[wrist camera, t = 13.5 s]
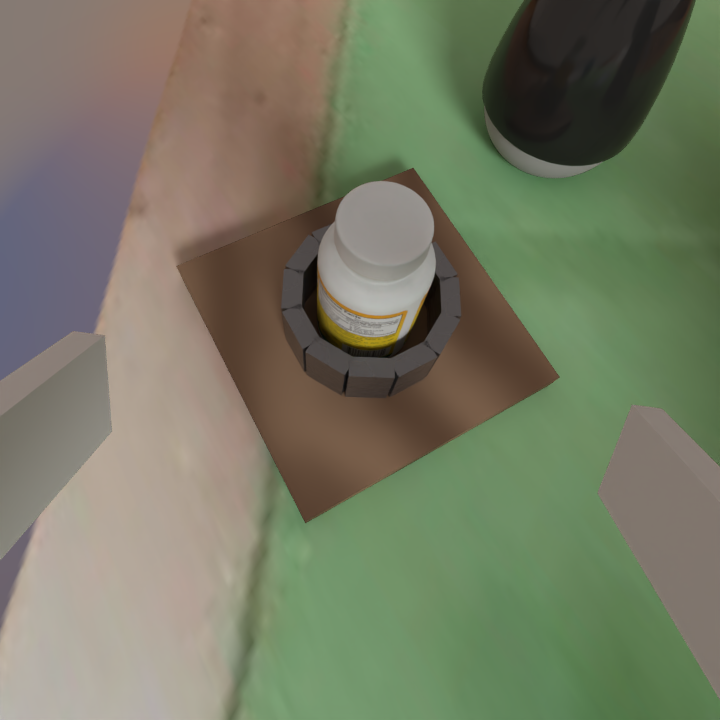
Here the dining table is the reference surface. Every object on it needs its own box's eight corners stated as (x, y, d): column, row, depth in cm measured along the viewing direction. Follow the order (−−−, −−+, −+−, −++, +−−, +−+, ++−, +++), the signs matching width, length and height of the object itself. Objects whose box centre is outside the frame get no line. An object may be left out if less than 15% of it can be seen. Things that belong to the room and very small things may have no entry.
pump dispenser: (438, 111, 38) (512, -158, 23) (558, 73, 40) (692, -194, 26) (510, 223, 35) (644, -5, 21) (635, 176, 37) (834, -60, 23)
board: (409, 183, 35) (413, 167, 34) (548, 385, 31) (559, 377, 30) (182, 278, 32) (176, 266, 30) (305, 523, 27) (305, 521, 26)
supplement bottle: (357, 385, 29) (376, 307, 20) (297, 314, 30) (288, 209, 21) (430, 329, 30) (478, 233, 21) (370, 263, 31) (391, 145, 22)
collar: (394, 230, 32) (402, 193, 29) (474, 352, 30) (493, 327, 26) (259, 289, 30) (252, 257, 27) (334, 426, 28) (335, 409, 24)
